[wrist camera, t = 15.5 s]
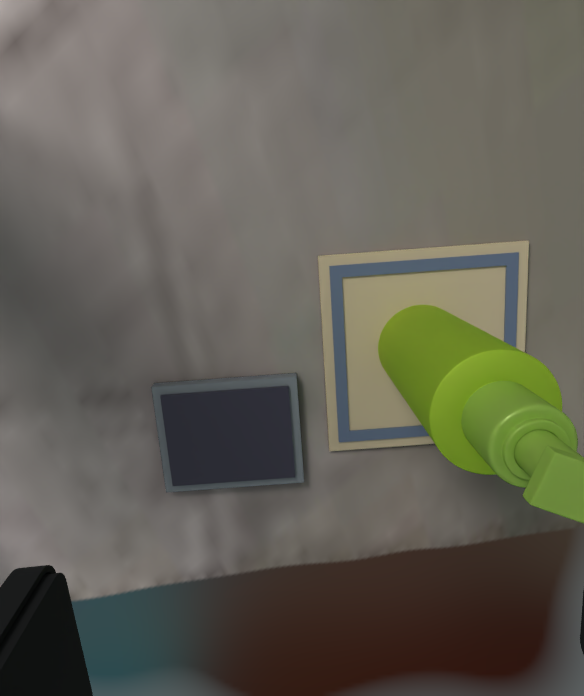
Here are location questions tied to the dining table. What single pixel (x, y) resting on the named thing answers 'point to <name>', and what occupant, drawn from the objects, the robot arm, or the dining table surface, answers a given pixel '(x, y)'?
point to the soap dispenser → (486, 405)
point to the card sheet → (388, 299)
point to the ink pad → (229, 432)
